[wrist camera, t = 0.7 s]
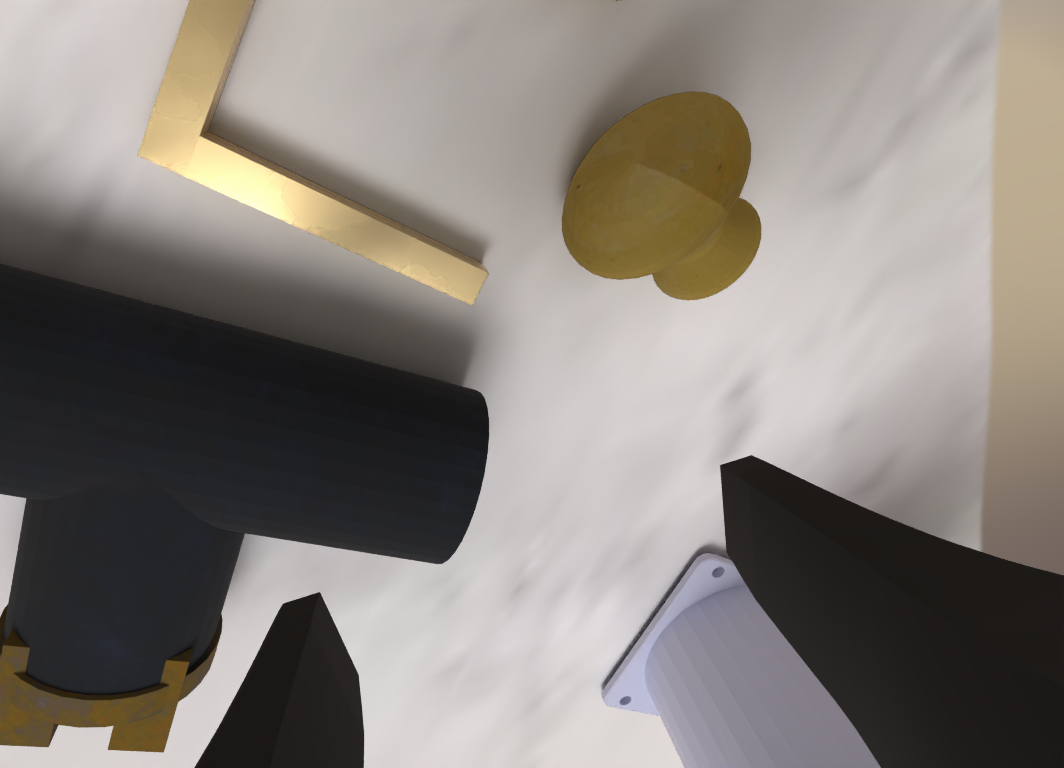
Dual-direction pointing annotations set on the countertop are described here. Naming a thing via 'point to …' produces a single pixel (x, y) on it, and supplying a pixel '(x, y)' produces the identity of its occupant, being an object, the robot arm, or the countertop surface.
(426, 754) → the countertop surface
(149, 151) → the u-shaped bracket
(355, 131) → the countertop surface
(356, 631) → the countertop surface
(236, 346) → the pipe connector
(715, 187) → the knob
